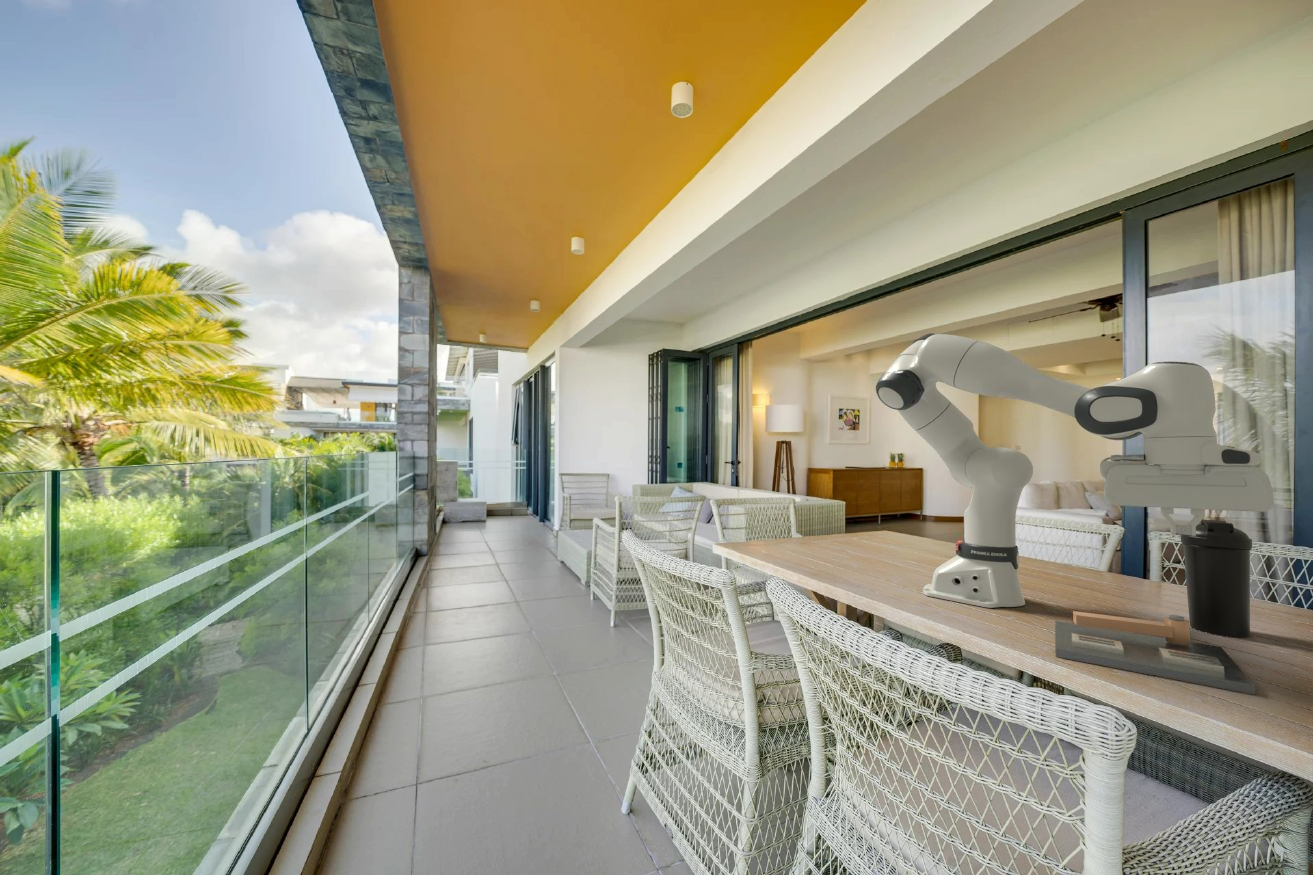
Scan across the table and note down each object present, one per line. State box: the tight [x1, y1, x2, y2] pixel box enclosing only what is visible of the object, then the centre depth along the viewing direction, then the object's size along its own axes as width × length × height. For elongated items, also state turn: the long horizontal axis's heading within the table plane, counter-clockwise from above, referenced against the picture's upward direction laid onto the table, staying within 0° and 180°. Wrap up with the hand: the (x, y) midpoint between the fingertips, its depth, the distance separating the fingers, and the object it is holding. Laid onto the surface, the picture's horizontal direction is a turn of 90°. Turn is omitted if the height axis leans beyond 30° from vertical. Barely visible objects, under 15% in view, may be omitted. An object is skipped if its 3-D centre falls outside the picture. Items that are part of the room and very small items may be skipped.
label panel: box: [1054, 620, 1256, 696], centre depth 93 cm, size 24×20×3 cm
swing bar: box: [1072, 610, 1191, 646], centre depth 98 cm, size 17×3×5 cm, turn 59°
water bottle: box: [1180, 519, 1253, 639], centre depth 107 cm, size 10×10×23 cm
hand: (1183, 534), depth 87 cm, fingers closed
